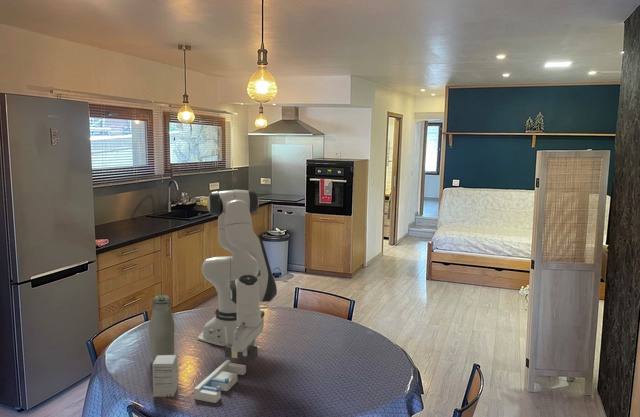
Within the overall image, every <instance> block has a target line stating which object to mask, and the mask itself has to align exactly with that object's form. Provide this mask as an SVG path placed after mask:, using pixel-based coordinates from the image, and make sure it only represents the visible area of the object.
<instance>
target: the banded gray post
mask: <svg viewBox="0 0 640 417" xmlns="http://www.w3.org/2000/svg"><path fill="white" fill-rule="evenodd" d="M232 346H233V344H228V345H226V346H224V354H225V355H224V357H225V358H230V359H231V358H233V359H241V360H242V359H243V360H251V361H255V360H256V358H258V357H259V356H258V355H259V353H258V346H256V345H254V346H249V345H248V348H247V350H248V351H249V352H248V353H249V354H248V355H247V356H243V352H236V351H234V350H233V348H232Z"/></svg>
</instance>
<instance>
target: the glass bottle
mask: <svg viewBox="0 0 640 417" xmlns="http://www.w3.org/2000/svg"><path fill="white" fill-rule="evenodd" d="M171 305H172V301H171V297H169V295H165V294H160V295H156V296H155V297H154V298H152V304H151V306H152V311H151V316H150V319H149V325H148V328H149V335H148V336H149V352H150V359H151V360H152V362H154V360H155V358H156V357H157V356H158V355H175V321H174V317H173V314H172V310H171V309H172V308H171Z"/></svg>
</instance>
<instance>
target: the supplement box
mask: <svg viewBox="0 0 640 417" xmlns="http://www.w3.org/2000/svg"><path fill="white" fill-rule="evenodd" d="M151 366H152V392H153V398H165V397H166V398H167V396H168V397H170V396H171V397H174V396H175V395H176V392H177V389H178V386H179V385H178V384H179V383H178V379H179V378H178V355H177V354H174V355H158V356H157V357H156V358H155V360H154V361H152V365H151Z"/></svg>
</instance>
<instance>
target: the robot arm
mask: <svg viewBox="0 0 640 417" xmlns="http://www.w3.org/2000/svg"><path fill="white" fill-rule="evenodd" d="M259 206H260V199H259V197H258V193H257V191H255V190H251V189H247V190H245V189H229V190H221V191H218V190H216V191H212V192H209V194H208V196H207V199H206V208H207V210H208V212H209V214H210V215H212V216H216V217H218V219H217V243H218V245H219V246H220V247H221V248H223V249H224V250H227V251H228V252H230V253H231V255H230V256H229V255H228V256H227V255H226V256H213V257H210V258H206V259H205V260H204V261H203V262H202V264H201V274H202V276H203V277H204V278H205V279H206V281H208V282H210V283H211V284H212V285H213V286H214V288H215V290H216V293H217V297H218V308H217V309H215V311H214V312H213V314H214V315H215V316H214V317H213V318H211V319H210V320H208V321H207V322H206V323H205V324H204V326H203V330H202V332H201V333H200V334H198V336H197V340H198V341H200V342H206V343H209V344H212V345H217V346H220V347H226V346H227V345H228V344H233V346H232V348H233V350H234V351H236V352H243V356H247V355H248V354H249V353H248V352H249V351H248V350H247V348H248V346H255V344H256V338H258V337H259V336H260V335H261V334H262V333H263V330H264V324H265V323H264V322H265V319H264V318H265V315H266V313H265V310H261V307H260V302H261V303H264V302H265V303H266V302H267V303H268V302H269V303H270V302H271V301H273V299H274V298H275V297H276V296H277V293H278V291H277V290H278V289H277V288H278V287H277V283H276V281H275V278H274V276H273V271H272V269H271V265H270V260H269V258H268V254H267V251H266V248H265V245H264V242H263V240H262V238H261V237H259V236H258V235H257V234H256V233H255V231H254V228H253V223H252V222H253V221H252V214H255V213H256V212H257V211H258V209H259ZM258 274H260V276H258ZM257 276H258V277H257ZM230 281H231V282H230Z"/></svg>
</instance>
